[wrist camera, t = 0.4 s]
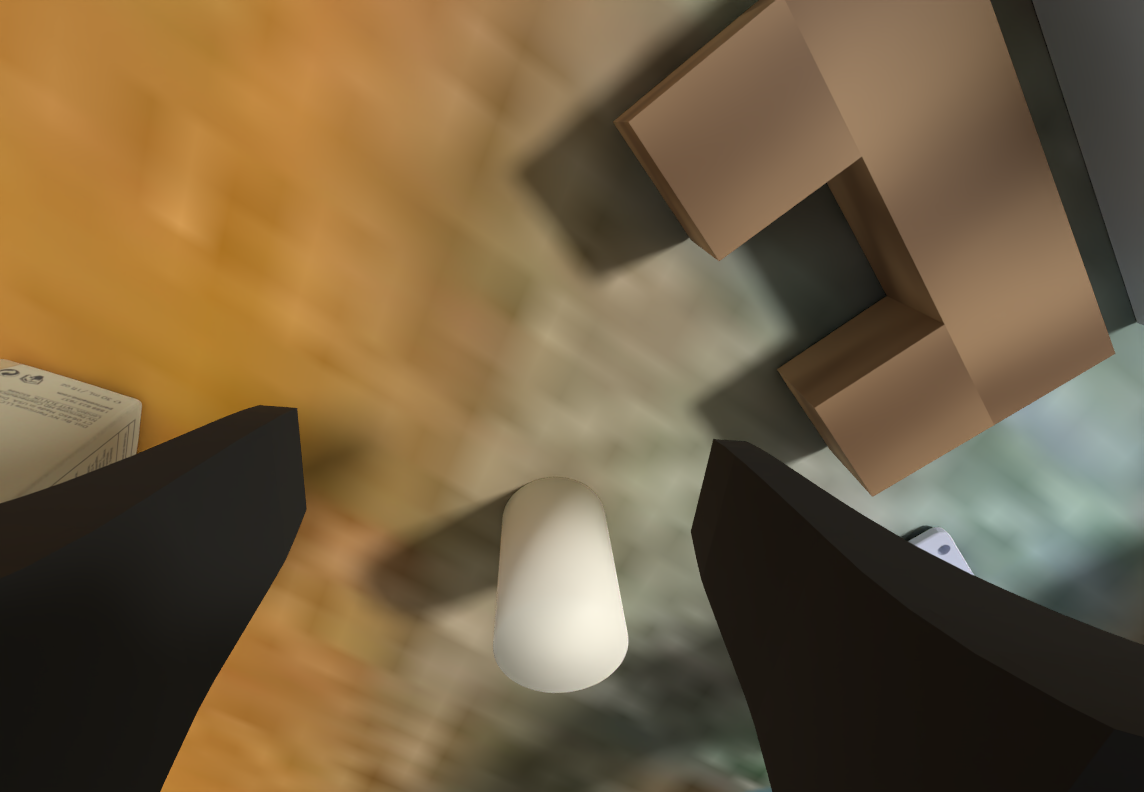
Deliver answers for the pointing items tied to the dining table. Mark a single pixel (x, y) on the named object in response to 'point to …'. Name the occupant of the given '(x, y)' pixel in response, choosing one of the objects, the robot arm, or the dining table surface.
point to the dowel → (557, 590)
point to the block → (887, 211)
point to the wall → (1106, 113)
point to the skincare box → (58, 429)
